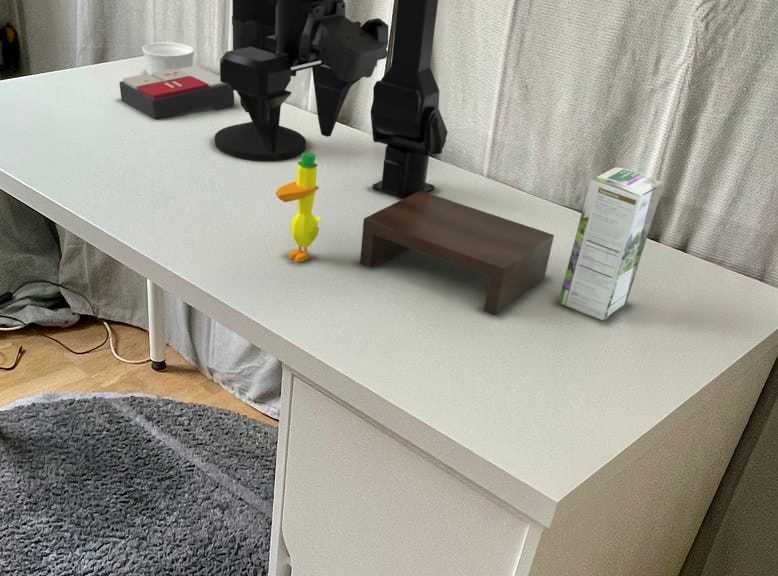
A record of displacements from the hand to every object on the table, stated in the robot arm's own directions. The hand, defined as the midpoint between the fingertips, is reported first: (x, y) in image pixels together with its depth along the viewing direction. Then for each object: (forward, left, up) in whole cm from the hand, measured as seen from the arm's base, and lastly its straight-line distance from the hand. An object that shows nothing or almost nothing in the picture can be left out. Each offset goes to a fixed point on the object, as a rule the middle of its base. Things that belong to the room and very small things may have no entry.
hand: (299, 144), depth 95 cm
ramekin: (-42, -63, -13) cm, 77 cm away
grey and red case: (-31, -50, -13) cm, 60 cm away
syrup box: (-14, +31, -13) cm, 37 cm away
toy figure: (0, 0, -13) cm, 13 cm away
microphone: (-26, -28, -13) cm, 40 cm away
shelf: (-10, +15, -13) cm, 23 cm away
